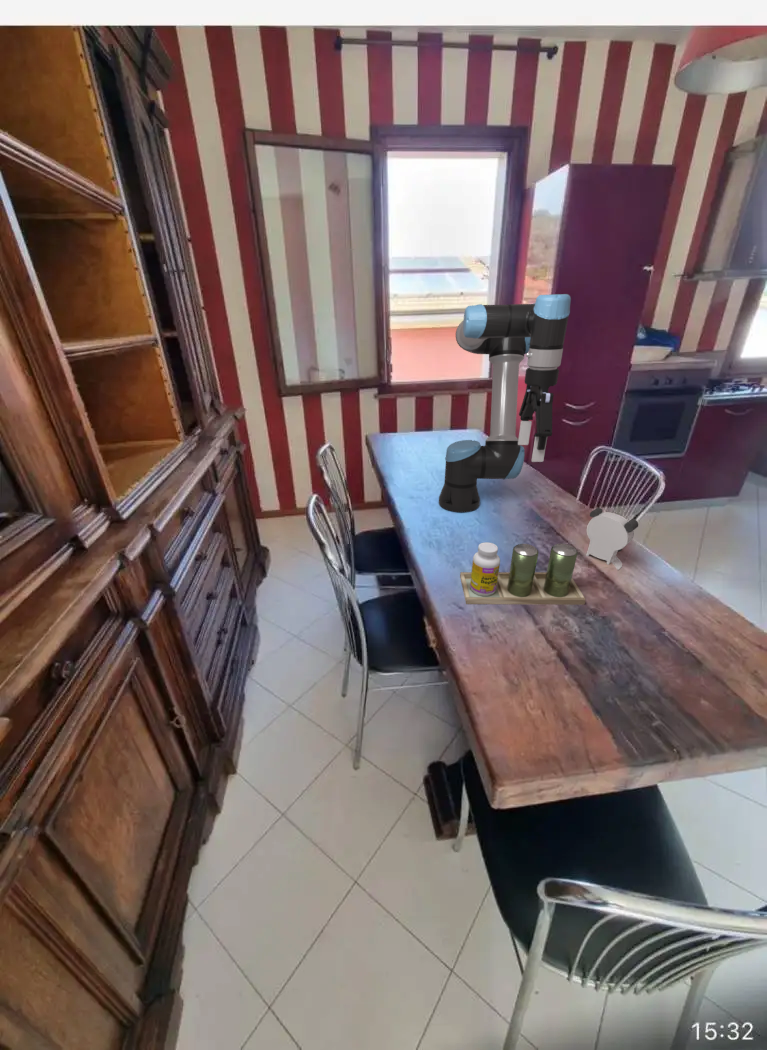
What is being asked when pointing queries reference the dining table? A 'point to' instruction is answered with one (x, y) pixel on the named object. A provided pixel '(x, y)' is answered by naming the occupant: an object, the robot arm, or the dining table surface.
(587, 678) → the dining table surface
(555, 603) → the caddy
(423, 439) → the dining table surface
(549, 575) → the can
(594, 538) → the panda figurine
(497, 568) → the supplement bottle
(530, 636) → the dining table surface
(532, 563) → the can
